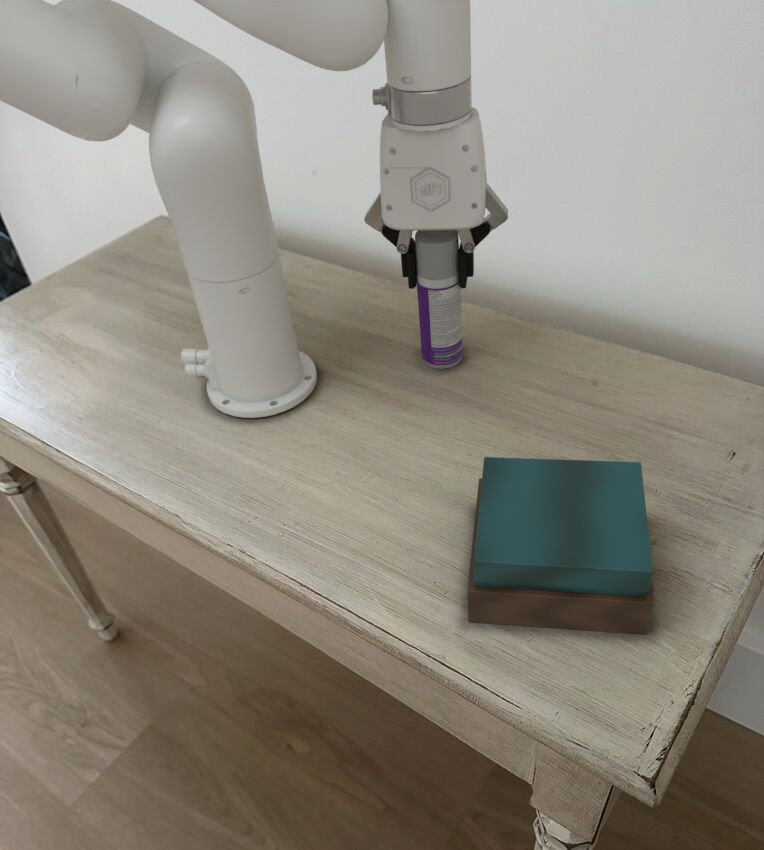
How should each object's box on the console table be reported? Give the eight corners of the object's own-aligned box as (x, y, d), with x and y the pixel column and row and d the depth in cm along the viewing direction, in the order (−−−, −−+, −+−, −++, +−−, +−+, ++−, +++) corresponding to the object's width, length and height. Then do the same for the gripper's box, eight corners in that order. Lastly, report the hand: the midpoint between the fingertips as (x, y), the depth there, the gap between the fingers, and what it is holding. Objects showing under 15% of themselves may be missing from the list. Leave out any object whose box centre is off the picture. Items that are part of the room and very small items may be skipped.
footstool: (468, 622, 65) (466, 566, 60) (479, 509, 73) (478, 452, 69) (646, 634, 62) (660, 577, 57) (635, 516, 71) (647, 458, 66)
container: (419, 348, 93) (411, 226, 83) (459, 343, 93) (455, 221, 83) (424, 371, 90) (416, 247, 79) (465, 366, 90) (462, 241, 79)
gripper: (331, 119, 71) (355, 300, 84) (523, 110, 68) (517, 300, 81) (346, 90, 76) (367, 265, 89) (526, 81, 73) (520, 264, 86)
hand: (438, 280), depth 85 cm, fingers closed on container, 4 cm apart
